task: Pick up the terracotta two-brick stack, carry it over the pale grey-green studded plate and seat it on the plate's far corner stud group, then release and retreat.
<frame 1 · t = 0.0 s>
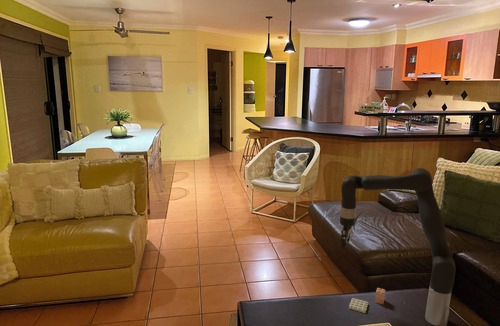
hand: (345, 244, 185), 29 cm above the table, fingers open, 8 cm apart
stud plate: (358, 306, 182), on the table
brick stack: (379, 301, 187), on the table
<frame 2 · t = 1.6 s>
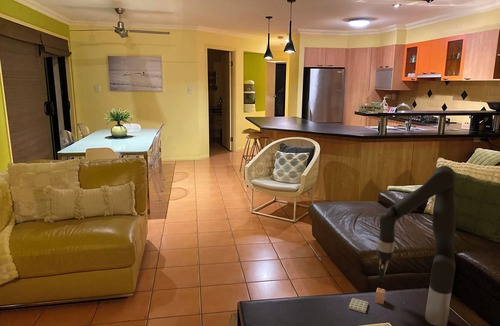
hand: (382, 277, 183), 14 cm above the table, fingers open, 8 cm apart
nothing on the table moved.
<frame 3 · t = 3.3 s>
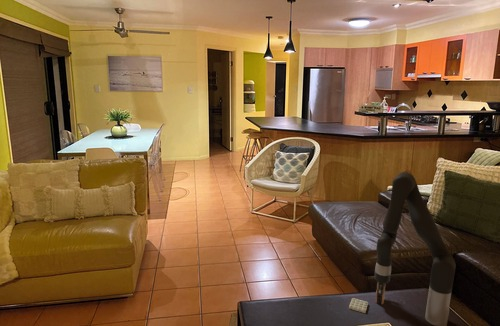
hand: (379, 300, 186), 0 cm above the table, fingers closed on brick stack, 4 cm apart
brick stack: (379, 301, 186), on the table, touching gripper
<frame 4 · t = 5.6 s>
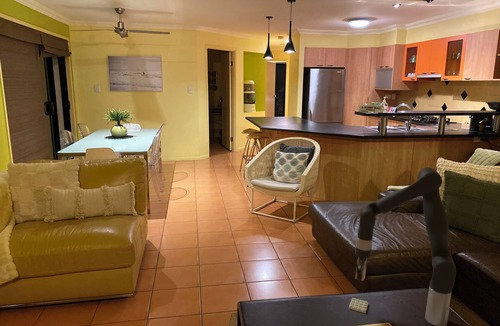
hand: (360, 277, 179), 16 cm above the table, fingers closed on brick stack, 4 cm apart
brick stack: (360, 277, 179), point 16 cm above the table, touching gripper
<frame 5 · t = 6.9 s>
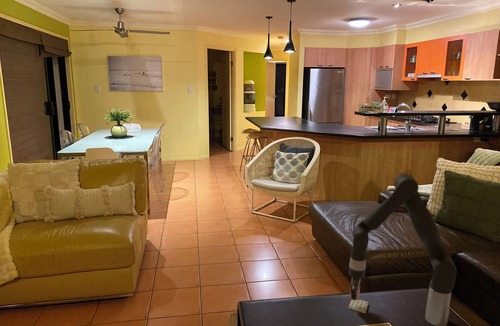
hand: (354, 296, 180), 6 cm above the table, fingers closed on brick stack, 4 cm apart
brick stack: (354, 297, 180), point 6 cm above the table, touching gripper
when the fingers open (2 cm above the table, at t = 8.1 s): brick stack stays where it is, resting on stud plate.
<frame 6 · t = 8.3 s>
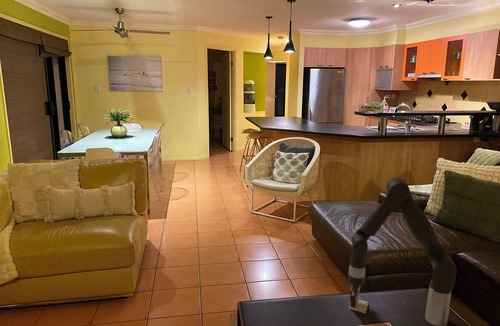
hand: (354, 303, 181), 2 cm above the table, fingers open, 5 cm apart
brick stack: (353, 304, 181), point 2 cm above the table, touching stud plate
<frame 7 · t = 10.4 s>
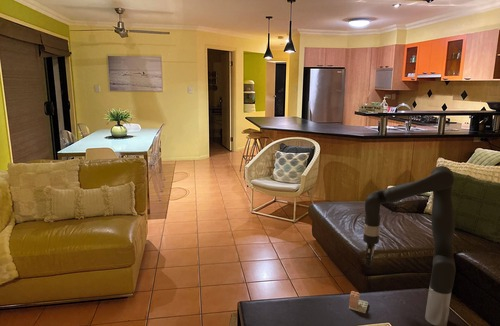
hand: (369, 262, 181), 22 cm above the table, fingers open, 8 cm apart
nothing on the table moved.
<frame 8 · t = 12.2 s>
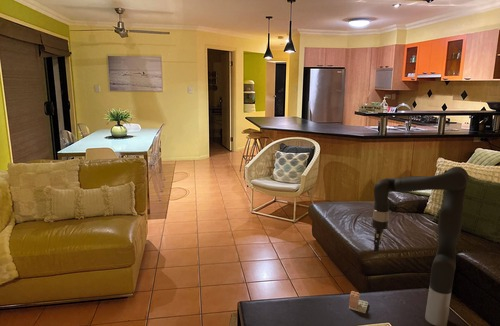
hand: (377, 247, 184), 28 cm above the table, fingers open, 8 cm apart
nothing on the table moved.
at the end: brick stack 0.1 cm from the target spot on the stud plate, point 1.6 cm above the stud plate's base; brick stack tilted 0°; the gripper is holding nothing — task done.
